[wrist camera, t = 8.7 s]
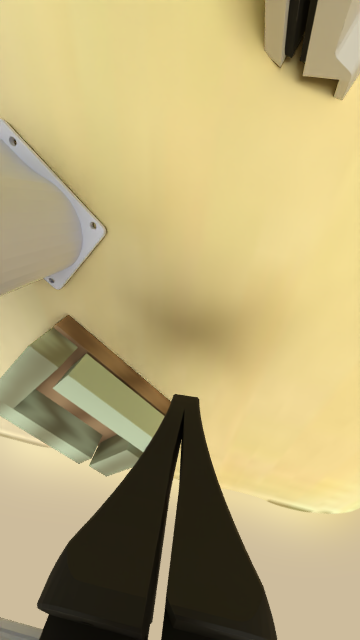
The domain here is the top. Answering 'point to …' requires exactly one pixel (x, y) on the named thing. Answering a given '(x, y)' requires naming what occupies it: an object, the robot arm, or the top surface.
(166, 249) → the top surface
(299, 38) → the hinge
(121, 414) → the hinged leg
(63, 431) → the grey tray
